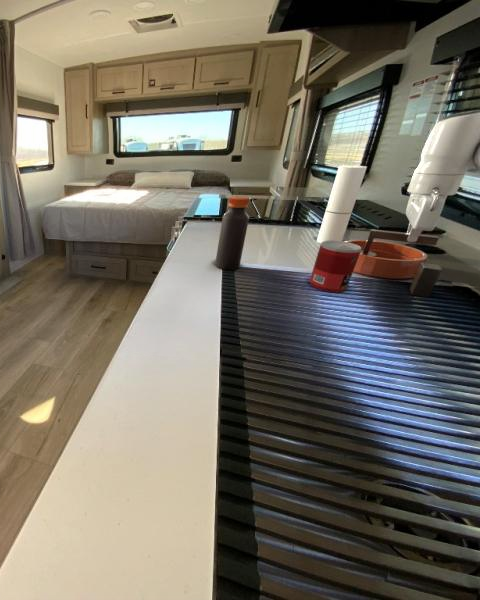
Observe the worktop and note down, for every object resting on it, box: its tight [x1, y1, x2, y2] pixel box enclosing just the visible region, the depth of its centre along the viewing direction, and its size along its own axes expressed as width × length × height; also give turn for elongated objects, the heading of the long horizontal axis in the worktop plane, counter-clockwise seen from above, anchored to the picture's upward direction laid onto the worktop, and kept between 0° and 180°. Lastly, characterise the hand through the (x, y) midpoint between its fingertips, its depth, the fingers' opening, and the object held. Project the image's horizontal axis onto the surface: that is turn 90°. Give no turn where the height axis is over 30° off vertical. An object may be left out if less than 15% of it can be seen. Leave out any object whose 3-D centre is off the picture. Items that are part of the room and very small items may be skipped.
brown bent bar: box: [360, 229, 440, 257], centre depth 91 cm, size 16×5×9 cm, turn 53°
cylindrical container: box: [316, 165, 368, 244], centre depth 111 cm, size 7×7×25 cm
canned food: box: [309, 240, 361, 293], centre depth 82 cm, size 8×8×11 cm
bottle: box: [214, 196, 250, 271], centre depth 95 cm, size 7×7×20 cm
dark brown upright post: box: [409, 262, 442, 298], centre depth 78 cm, size 3×4×7 cm
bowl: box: [344, 239, 428, 280], centre depth 94 cm, size 19×19×6 cm
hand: (410, 239), depth 88 cm, fingers closed on brown bent bar
